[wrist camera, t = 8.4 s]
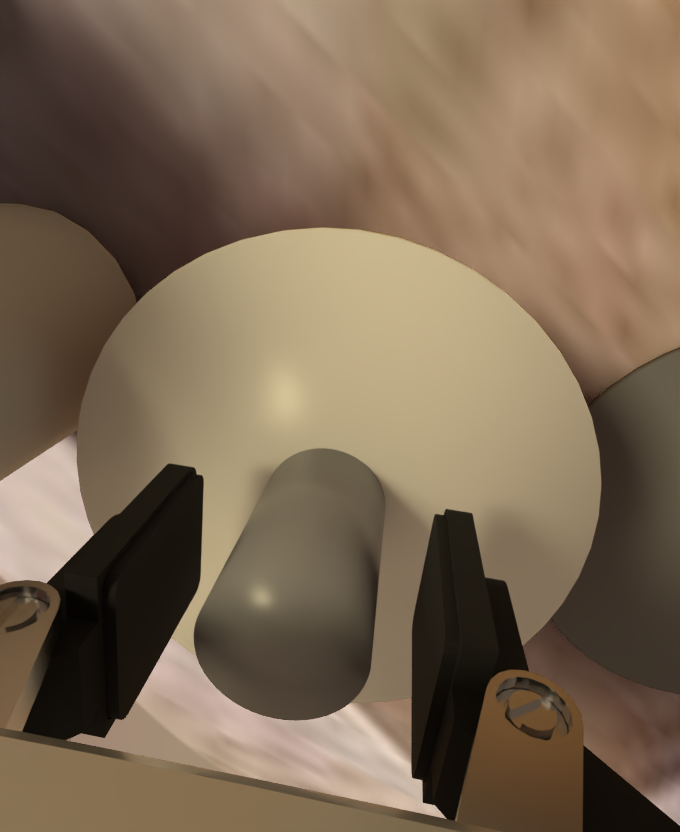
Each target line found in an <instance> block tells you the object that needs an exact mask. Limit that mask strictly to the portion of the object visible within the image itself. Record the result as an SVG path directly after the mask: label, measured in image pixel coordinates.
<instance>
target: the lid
mask: <svg viewBox="0 0 680 832" xmlns="http://www.w3.org/2000/svg"><path fill="white" fill-rule="evenodd" d="M169 463H171V464H177V465H183V466H189V467H194V468H195V469H196V473H197V474H198V475H202V476H203V479H204V490H203V520H202V550H201V577H200V583H199V587H198V590H197V592H196V594H195V596H194V598H193V599H192V601H191V603H190V605H189V606H188V608H187V610H186V612H185V614H184V615H183V617H182V619H181V621H180V622H179V624H178V626H177V628H176V630H175V631H174V633H173V635H172V637H171V638H173V639H174V640H175V641H177V642H178V643H179V644H181V645H182V646H183V647H185V648H186V649H187V650H189V651H190V652H192V653H193V654H194V655H196V656H197V658H198V661H199V664H200V666H201V668H202V669H203V671H204V673H205V674H206V676H207V677H208V679H209V680H210V681H211V682H212V683H213V685H214V686H215V687H216V688H217V689H218V690H219V691H220V692H221V693H223V694H224V695H225V696H226V697H228V698H229V699H230V700H232V701H233V702H235V703H236V704H238V705H240V706H242V707H243V708H246V709H248V710H250V711H252V712H255V713H258V714H260V715H263V716H267V717H271V718H276V719H283V720H309V719H315V718H319V717H323V716H327V715H329V714H332V713H334V712H336V711H338V710H340V709H342V708H343V707H345V706H346V705H348V704H349V703H370V702H386V701H394V700H400V699H406V698H412V623H413V616H414V611H415V606H416V601H417V596H418V591H419V586H420V582H421V577H422V572H423V567H424V562H425V557H426V553H427V548H428V543H429V538H430V533H431V528H432V523H433V519H434V515H435V514H440V515H444V512H445V510H446V509H450V510H457V511H463V512H469V513H472V514H473V519H474V524H475V529H476V534H477V539H478V544H479V549H480V554H481V559H482V564H483V570H484V575H485V577H486V578H492V579H498V580H504V581H505V582H506V584H507V587H508V590H509V594H510V598H511V602H512V606H513V610H514V614H515V618H516V622H517V626H518V630H519V634H520V638H521V642H522V646H523V645H524V644H526V643H527V642H528V641H529V640H530V639H531V638H532V637H533V636H534V635H535V634H536V633H537V632H538V631H539V630H540V629H542V628H543V627H544V626H545V624H546V623H547V622H548V621H549V619H550V618H551V617H552V616H553V615H554V613H555V612H556V611H557V610H558V608H559V607H560V606H561V605H562V603H563V602H564V600H565V599H566V597H567V595H568V594H569V592H570V590H571V589H572V587H573V585H574V584H575V582H576V580H577V579H578V577H579V575H580V573H581V570H582V568H583V566H584V563H585V561H586V558H587V556H588V553H589V551H590V549H591V545H592V541H593V537H594V533H595V529H596V525H597V521H598V517H599V506H600V495H601V470H600V454H599V448H598V443H597V439H596V434H595V430H594V425H593V421H592V417H591V414H590V412H589V409H588V406H587V404H586V401H585V399H584V396H583V394H582V391H581V389H580V386H579V384H578V382H577V380H576V378H575V377H574V375H573V373H572V371H571V370H570V368H569V366H568V364H567V363H566V361H565V359H564V358H563V356H562V354H561V352H560V351H559V350H558V348H557V347H556V346H555V345H554V343H553V342H552V341H551V340H550V338H549V337H548V336H547V334H546V333H545V332H544V331H543V329H542V328H541V327H540V326H539V324H538V323H537V322H536V321H535V320H534V319H533V318H532V317H531V316H530V315H529V314H528V313H527V312H526V311H525V310H523V309H522V308H521V307H520V306H519V305H518V304H517V303H516V302H515V301H514V300H513V299H512V298H511V297H510V296H509V295H508V294H506V293H505V292H504V291H503V290H502V289H501V288H499V287H498V286H496V285H495V284H494V283H492V282H491V281H489V280H488V279H486V278H485V277H484V276H482V275H481V274H479V273H478V272H477V271H475V270H474V269H472V268H471V267H469V266H467V265H465V264H463V263H461V262H459V261H457V260H455V259H453V258H452V257H450V256H448V255H446V254H444V253H442V252H440V251H438V250H436V249H433V248H430V247H427V246H424V245H421V244H418V243H416V242H413V241H410V240H407V239H404V238H401V237H397V236H392V235H387V234H382V233H377V232H372V231H367V230H363V229H347V228H330V227H320V228H307V229H295V230H285V231H279V232H274V233H270V234H265V235H261V236H256V237H252V238H247V239H243V240H240V241H237V242H234V243H232V244H229V245H226V246H224V247H221V248H219V249H216V250H213V251H211V252H208V253H206V254H204V255H202V256H200V257H199V258H197V259H195V260H193V261H191V262H190V263H188V264H186V265H184V266H183V267H181V268H179V269H177V270H175V271H174V272H173V273H171V274H170V275H169V276H167V277H166V278H165V279H164V280H162V281H161V282H160V283H158V284H157V285H156V286H155V287H153V288H152V289H151V290H150V291H148V292H147V293H146V294H145V295H144V296H143V297H142V298H141V299H140V300H139V301H138V302H137V303H136V305H135V306H134V307H133V308H132V309H131V310H130V311H129V312H128V313H127V314H126V315H125V316H124V317H123V319H122V320H121V322H120V323H119V324H118V326H117V327H116V329H115V330H114V332H113V333H112V335H111V336H110V338H109V339H108V340H107V342H106V343H105V345H104V347H103V349H102V351H101V353H100V355H99V357H98V359H97V361H96V364H95V366H94V368H93V370H92V372H91V374H90V378H89V381H88V384H87V387H86V391H85V394H84V397H83V400H82V405H81V411H80V417H79V424H78V430H77V467H78V475H79V483H80V491H81V495H82V499H83V503H84V506H85V510H86V514H87V518H88V521H89V523H90V526H91V528H92V531H93V533H94V534H95V533H96V532H97V531H98V530H99V529H100V528H101V527H102V526H103V525H104V524H105V523H106V522H107V521H108V520H109V519H110V518H111V517H113V516H114V515H117V514H120V513H121V512H122V511H123V510H124V509H125V508H126V507H127V506H128V505H129V503H130V502H131V501H132V500H133V499H134V498H135V497H136V496H137V495H138V494H139V493H140V492H141V491H142V490H143V489H144V488H145V487H146V486H147V485H148V484H149V483H150V482H151V481H152V480H153V479H154V478H155V476H156V475H157V474H158V473H159V472H160V471H161V470H162V469H163V468H164V467H165V466H166V465H167V464H169Z"/></svg>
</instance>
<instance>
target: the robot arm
mask: <svg viewBox="0 0 680 832" xmlns="http://www.w3.org/2000/svg"><path fill="white" fill-rule="evenodd" d="M203 490H204V479H203V476H202V475H198V474H197V473H196V469H195V468H194V467H189V466H183V465H177V464H171V463H169V464H167V465H166V466H165V467H164V468H163V469H162V470H161V471H160V472H159V473H158V474H157V475H156V476H155V478H154V479H153V480H152V481H151V482H150V483H149V484H148V485H147V486H146V487H145V488H144V489H143V490H142V491H141V492H140V493H139V494H138V495H137V496H136V497H135V498H134V499H133V500H132V501H131V502H130V503H129V505H128V506H127V507H126V508H125V509H124V510H123V511H122V512H121V513H120V514H117V515H114V516H113V517H111V518H110V519H109V520H108V521H107V522H106V523H105V524H104V525H103V526H102V527H101V528H100V529H99V530H98V531H97V532H96V533H95V534H94V535H93V536H92V537H91V538H90V540H89V541H88V542H87V543H86V544H85V545H84V546H83V547H82V548H81V549H80V550H79V551H78V552H77V553H76V554H75V555H74V556H73V557H72V558H71V559H70V560H69V561H68V562H67V563H66V564H65V565H64V566H63V567H62V568H61V569H60V570H59V571H58V572H57V573H56V574H55V575H54V576H53V577H52V578H51V579H50V580H49V581H48V582H47V583H43V582H40V581H30V580H24V581H13V582H9V583H5V584H1V585H0V832H680V826H679V825H678V824H677V823H676V822H674V821H673V820H672V819H671V818H670V817H668V816H667V815H666V814H665V813H664V812H662V811H661V810H660V809H659V808H658V807H656V806H655V805H654V804H653V803H652V802H650V801H649V800H648V799H647V798H646V797H644V796H643V795H642V794H641V793H640V792H639V791H637V790H636V789H635V788H634V787H633V786H631V785H630V784H629V783H628V782H627V781H625V780H624V779H623V778H622V777H621V776H619V775H618V774H617V773H616V772H615V771H613V770H612V769H611V768H610V767H609V766H607V765H606V764H605V763H604V762H603V761H602V760H600V759H599V758H598V757H597V756H596V755H594V754H593V753H592V752H591V751H590V750H588V749H587V748H586V747H585V746H584V745H583V731H584V727H583V721H582V716H581V713H580V711H579V709H578V708H577V706H576V704H575V702H574V701H573V700H572V699H571V698H570V696H569V695H568V694H567V693H566V692H565V691H564V690H563V689H562V688H560V687H559V686H558V685H556V684H555V683H554V682H552V681H551V680H549V679H547V678H545V677H543V676H541V675H538V674H536V673H532V672H529V670H528V666H527V662H526V658H525V654H524V650H523V646H522V642H521V638H520V634H519V630H518V626H517V622H516V618H515V614H514V610H513V606H512V602H511V598H510V594H509V590H508V587H507V584H506V582H505V581H504V580H498V579H492V578H486V577H485V575H484V570H483V564H482V559H481V554H480V549H479V544H478V539H477V534H476V529H475V524H474V519H473V514H472V513H469V512H463V511H457V510H450V509H446V510H445V512H444V515H440V514H435V515H434V519H433V523H432V528H431V533H430V538H429V543H428V548H427V553H426V557H425V562H424V567H423V572H422V577H421V582H420V586H419V591H418V596H417V601H416V606H415V611H414V616H413V623H412V778H415V779H420V780H422V782H423V803H427V804H432V805H435V806H436V807H437V808H438V809H439V810H440V811H441V813H442V814H443V815H444V816H445V817H446V818H447V819H444V818H439V817H434V816H430V815H425V814H420V813H415V812H411V811H406V810H401V809H396V808H392V807H387V806H382V805H377V804H373V803H368V802H363V801H358V800H354V799H349V798H344V797H339V796H335V795H330V794H325V793H321V792H316V791H311V790H306V789H302V788H297V787H292V786H287V785H282V784H277V783H273V782H268V781H263V780H258V779H253V778H248V777H243V776H239V775H234V774H229V773H224V772H219V771H214V770H209V769H204V768H199V767H195V766H190V765H185V764H180V763H175V762H169V761H165V760H160V759H155V758H150V757H145V756H140V755H135V754H131V753H126V752H121V751H116V750H111V749H106V748H101V747H96V746H91V745H86V744H81V743H76V742H71V738H72V737H74V736H76V735H78V734H80V733H83V734H88V735H92V736H98V737H102V738H105V736H106V735H107V733H108V731H109V730H110V728H111V726H112V724H113V723H114V721H115V719H120V720H122V719H124V718H125V717H126V715H127V714H128V713H129V711H130V709H131V707H132V706H133V704H134V702H135V700H136V699H137V697H138V695H139V693H140V692H141V690H142V688H143V686H144V684H145V683H146V681H147V679H148V677H149V676H150V674H151V672H152V670H153V669H154V667H155V665H156V663H157V661H158V660H159V658H160V656H161V654H162V653H163V651H164V649H165V647H166V645H167V644H168V642H169V640H170V638H171V637H172V635H173V633H174V631H175V630H176V628H177V626H178V624H179V622H180V621H181V619H182V617H183V615H184V614H185V612H186V610H187V608H188V606H189V605H190V603H191V601H192V599H193V598H194V596H195V594H196V592H197V590H198V587H199V583H200V577H201V550H202V520H203Z"/></svg>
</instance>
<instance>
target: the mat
mask: <svg viewBox="0 0 680 832" xmlns="http://www.w3.org/2000/svg"><path fill="white" fill-rule="evenodd" d="M588 409H589V412H590V414H591V417H592V421H593V425H594V430H595V434H596V439H597V443H598V448H599V454H600V470H601V495H600V506H599V517H598V521H597V525H596V529H595V533H594V537H593V541H592V545H591V549H590V551H589V553H588V556H587V558H586V561H585V563H584V566H583V568H582V570H581V573H580V575H579V577H578V579H577V580H576V582H575V584H574V585H573V587H572V589H571V590H570V592H569V594H568V595H567V597H566V599H565V600H564V602H563V603H562V605H561V606H560V607H559V608H558V610H557V611H556V612H555V613H554V615H553V616H552V617H551V619H552V620H553V622H554V623H555V625H556V626H557V627H558V629H559V630H560V631H561V632H562V633H563V634H564V635H565V636H566V637H567V639H568V640H569V641H570V642H571V643H572V644H573V645H574V646H576V647H577V648H578V649H579V650H580V651H582V652H583V653H584V654H585V655H586V656H588V657H589V658H590V659H592V660H594V661H595V662H597V663H598V664H600V665H601V666H603V667H605V668H606V669H608V670H610V671H612V672H614V673H616V674H618V675H620V676H622V677H624V678H626V679H628V680H631V681H634V682H637V683H640V684H642V685H645V686H648V687H651V688H655V689H659V690H663V691H668V692H672V693H676V694H680V348H677V349H675V350H672V351H670V352H667V353H665V354H663V355H661V356H659V357H657V358H655V359H653V360H651V361H650V362H648V363H646V364H644V365H642V366H640V367H638V368H637V369H635V370H633V371H632V372H630V373H629V374H628V375H626V376H625V377H623V378H622V379H620V380H619V381H617V382H616V383H614V384H613V385H611V386H610V387H609V388H608V389H606V390H605V391H604V392H603V393H602V394H601V395H599V396H598V397H597V398H596V399H595V400H594V401H593V402H591V403H590V404H589V405H588Z"/></svg>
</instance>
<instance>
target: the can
mask: <svg viewBox="0 0 680 832" xmlns="http://www.w3.org/2000/svg"><path fill="white" fill-rule="evenodd" d="M135 305H136V298H135V294H134V292H133V290H132V288H131V286H130V285H129V283H128V281H127V279H126V277H125V275H124V274H123V272H122V270H121V268H120V266H119V264H118V263H117V261H116V259H115V258H114V257H113V256H112V255H111V254H110V253H109V252H108V251H107V250H106V249H105V248H104V247H103V246H102V245H101V244H100V243H99V242H98V240H97V239H96V238H95V237H94V236H93V235H92V234H91V233H90V232H89V231H87V230H86V229H84V228H82V227H81V226H79V225H77V224H76V223H74V222H72V221H70V220H69V219H67V218H65V217H64V216H62V215H60V214H58V213H57V212H55V211H50V210H46V209H41V208H37V207H32V206H28V205H23V204H2V203H0V481H1V480H2V479H4V478H5V477H7V476H8V475H10V474H11V473H13V472H14V471H16V470H17V469H19V468H20V467H22V466H23V465H25V464H26V463H28V462H30V461H31V460H33V459H34V458H36V457H37V456H39V455H40V454H42V453H43V452H45V451H46V450H48V449H49V448H51V447H52V446H54V445H55V444H57V443H58V442H60V441H61V440H63V439H64V438H66V437H67V436H69V435H71V434H72V433H74V432H75V431H77V430H78V424H79V417H80V411H81V405H82V400H83V397H84V394H85V391H86V387H87V384H88V381H89V378H90V374H91V372H92V370H93V368H94V366H95V364H96V361H97V359H98V357H99V355H100V353H101V351H102V349H103V347H104V345H105V343H106V342H107V340H108V339H109V338H110V336H111V335H112V333H113V332H114V330H115V329H116V327H117V326H118V324H119V323H120V322H121V320H122V319H123V317H124V316H125V315H126V314H127V313H128V312H129V311H130V310H131V309H132V308H133V307H134V306H135Z"/></svg>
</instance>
